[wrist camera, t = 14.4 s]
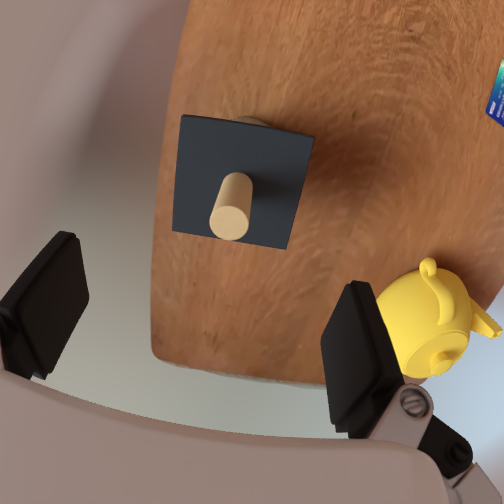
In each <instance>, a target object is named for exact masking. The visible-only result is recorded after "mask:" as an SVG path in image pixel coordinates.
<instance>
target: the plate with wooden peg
mask: <svg viewBox="0 0 504 504" xmlns="http://www.w3.org/2000/svg"><path fill="white" fill-rule="evenodd" d="M314 140H315V138H314V136H312V135H307V134H303V133H298V132H293V131H288V130H283V129H278V128H273V127H268V126H262V125H257V124H251V123H245V122H239V121H232V120H225V119H218V118H211V117H203V116H195V115H186V114H184V115H182V116H181V123H180V132H179V142H178V152H177V163H176V175H175V188H174V203H173V221H172V231H176V232H182V233H188V234H194V235H200V236H206V237H212V238H218V239H224V240H230V241H236V242H242V243H248V244H254V245H260V246H266V247H272V248H278V249H284V250H286V248H287V244H288V241H289V237H290V233H291V230H292V226H293V222H294V218H295V215H296V211H297V207H298V203H299V199H300V196H301V192H302V188H303V184H304V180H305V176H306V172H307V168H308V164H309V160H310V156H311V152H312V148H313V144H314Z"/></svg>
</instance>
